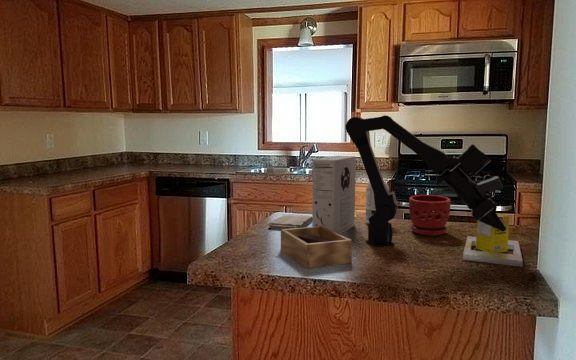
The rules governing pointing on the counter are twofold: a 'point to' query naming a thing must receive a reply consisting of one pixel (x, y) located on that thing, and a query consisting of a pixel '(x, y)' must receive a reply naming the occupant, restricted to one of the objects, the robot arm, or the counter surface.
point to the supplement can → (370, 201)
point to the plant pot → (429, 214)
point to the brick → (313, 239)
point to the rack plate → (493, 254)
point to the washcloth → (290, 222)
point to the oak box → (316, 247)
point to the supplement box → (492, 236)
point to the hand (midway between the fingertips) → (502, 226)
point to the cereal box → (334, 193)
